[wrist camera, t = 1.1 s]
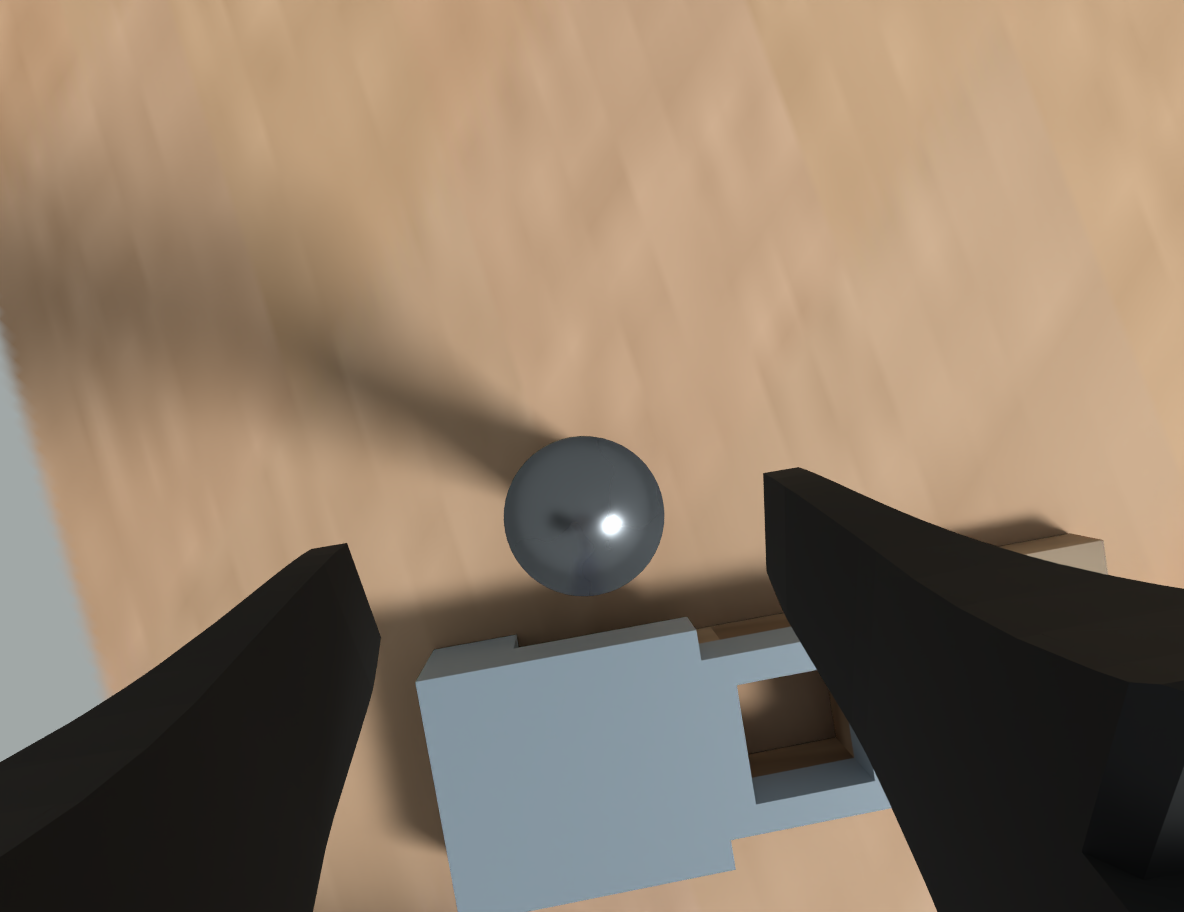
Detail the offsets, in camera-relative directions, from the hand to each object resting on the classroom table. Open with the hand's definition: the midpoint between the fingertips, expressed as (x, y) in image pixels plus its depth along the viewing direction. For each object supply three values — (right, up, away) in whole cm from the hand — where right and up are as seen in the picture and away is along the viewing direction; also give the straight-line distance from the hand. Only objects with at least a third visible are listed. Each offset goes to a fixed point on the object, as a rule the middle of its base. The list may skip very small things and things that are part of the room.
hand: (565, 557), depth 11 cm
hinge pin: (0, +1, +12) cm, 12 cm away
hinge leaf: (+3, -8, +13) cm, 15 cm away
